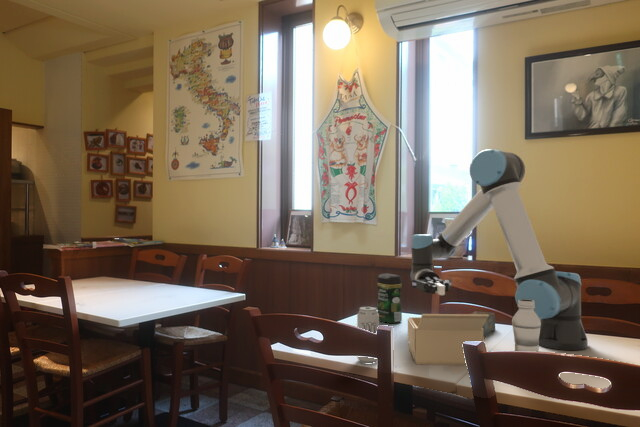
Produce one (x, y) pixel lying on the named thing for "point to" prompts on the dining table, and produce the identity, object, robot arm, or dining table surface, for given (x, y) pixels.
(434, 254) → the robot arm
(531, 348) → the plastic bottle
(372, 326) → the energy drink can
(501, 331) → the dining table surface
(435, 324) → the long flap
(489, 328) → the beverage carton
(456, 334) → the kraft box
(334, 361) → the dining table surface
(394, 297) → the coffee jar
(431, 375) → the dining table surface
